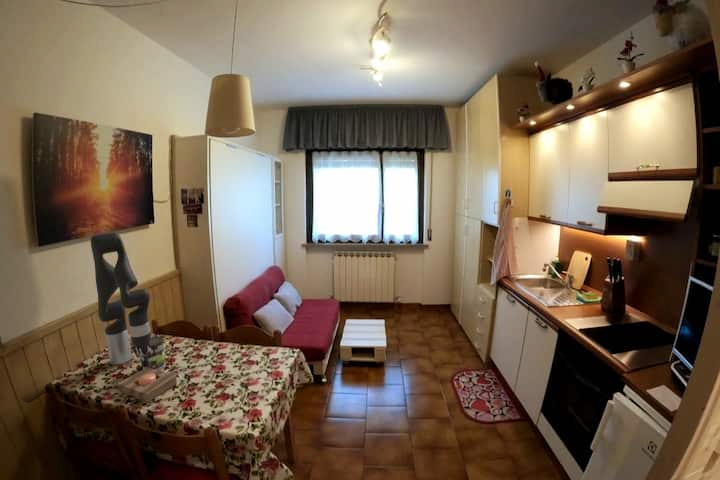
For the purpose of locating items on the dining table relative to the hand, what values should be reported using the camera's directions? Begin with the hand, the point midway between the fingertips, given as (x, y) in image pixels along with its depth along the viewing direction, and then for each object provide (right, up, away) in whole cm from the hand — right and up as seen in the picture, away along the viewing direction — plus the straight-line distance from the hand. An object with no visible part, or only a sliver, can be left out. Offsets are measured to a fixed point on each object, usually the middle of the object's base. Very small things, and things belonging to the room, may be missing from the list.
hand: (145, 366), depth 145 cm
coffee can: (-8, -8, +19) cm, 22 cm away
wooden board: (0, -11, +2) cm, 11 cm away
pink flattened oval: (0, -10, +2) cm, 10 cm away
